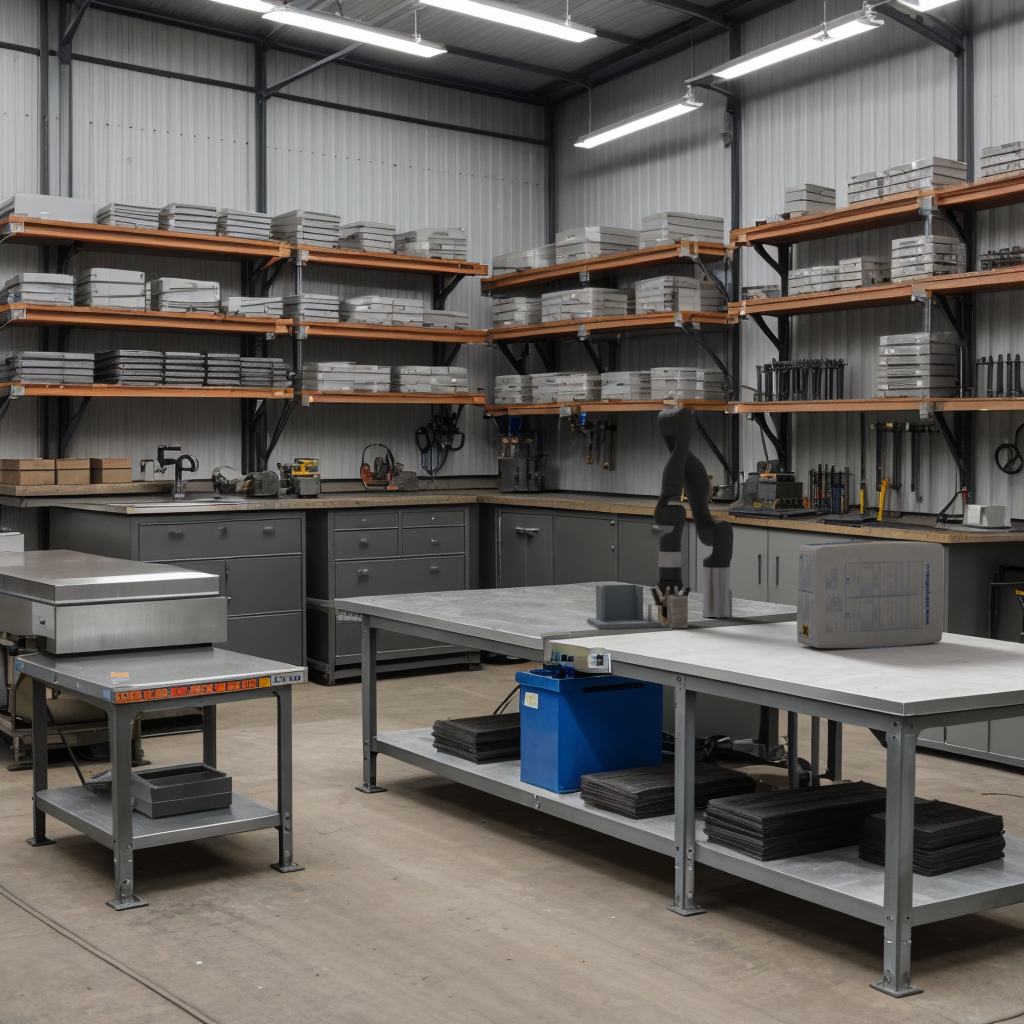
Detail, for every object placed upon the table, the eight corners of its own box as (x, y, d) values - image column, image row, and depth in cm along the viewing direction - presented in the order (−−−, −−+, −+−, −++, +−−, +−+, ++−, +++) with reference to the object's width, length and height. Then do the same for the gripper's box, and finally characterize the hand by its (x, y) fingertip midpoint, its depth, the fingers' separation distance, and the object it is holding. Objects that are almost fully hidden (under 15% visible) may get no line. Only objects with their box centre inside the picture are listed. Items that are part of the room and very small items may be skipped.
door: (687, 627, 390) (687, 596, 389) (672, 628, 389) (672, 597, 388) (669, 620, 408) (669, 590, 408) (654, 620, 407) (654, 591, 407)
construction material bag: (920, 638, 364) (921, 538, 363) (944, 644, 353) (945, 541, 352) (794, 646, 351) (794, 542, 349) (816, 652, 340) (816, 545, 338)
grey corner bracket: (648, 621, 407) (648, 583, 406) (661, 627, 392) (661, 588, 391) (587, 623, 403) (587, 585, 402) (598, 629, 388) (598, 590, 387)
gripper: (686, 563, 403) (686, 615, 404) (646, 564, 401) (646, 616, 402) (694, 565, 396) (694, 618, 397) (653, 566, 394) (653, 619, 394)
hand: (670, 617), depth 399 cm, fingers closed on door, 3 cm apart
